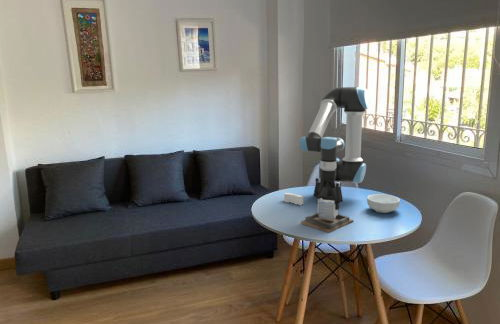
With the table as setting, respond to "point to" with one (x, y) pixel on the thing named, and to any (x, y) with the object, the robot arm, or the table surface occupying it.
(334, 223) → the wooden tray
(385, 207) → the cereal bowl
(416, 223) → the table surface
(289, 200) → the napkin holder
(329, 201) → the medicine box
